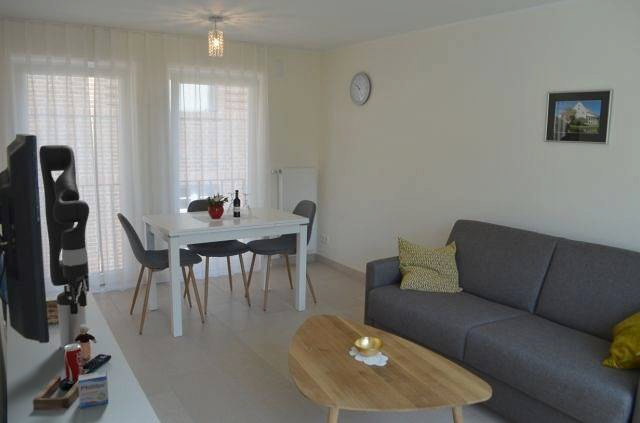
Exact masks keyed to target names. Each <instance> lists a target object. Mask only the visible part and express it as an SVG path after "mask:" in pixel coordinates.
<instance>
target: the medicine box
mask: <svg viewBox="0 0 640 423" xmlns="http://www.w3.org/2000/svg"><path fill="white" fill-rule="evenodd" d="M108 383H109V382H108V372H107V370H104V371H98V372H93V373H92V372H91V373H87V374H84V375H79V376H78V387H79V396H78V398H79V400H78V401H79V408H80V409H85V408H89V407H95V406H100V405H104V404H108V403H109V388H108V386H109V384H108Z"/></svg>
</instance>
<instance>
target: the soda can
mask: <svg viewBox="0 0 640 423" xmlns="http://www.w3.org/2000/svg"><path fill="white" fill-rule="evenodd" d="M63 359H64V369H65V371H64V372H65V380H66V379H67V380H70V381H75V380H76V381H78V376H79V375H85V374H84V362H83V360H82V349H81V347H80V344H69V345H67V346H65V349H63Z"/></svg>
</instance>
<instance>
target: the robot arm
mask: <svg viewBox="0 0 640 423" xmlns="http://www.w3.org/2000/svg"><path fill="white" fill-rule="evenodd" d="M38 152H39V153H38V155H39V164H40V172H41V178H42V183H43V193H44V207H45V208H44V210H45V221H46V222H45V223H46V229H47V237H48V238H47V239H48V247H49V248H48V250H49V252H48V253H49V278H50V281H51V283H52V285H53V286H54V287H61V286H63V289H64V290H63V291H61V292H60V293H59V294H58V295H57V296H56V304H57V315H58V316H57V317H58V327H59V340H60V347H61V349H62V350H65V346H67V345H69V344H74V341H75V339H76V337H77V336H78V335H79V334H81V333H80V330H79V327H80V325H83V324H85V325H87V316H86V315H87V314H86V307H87V305H88V301H87V295H88V292H89V291H90V277H89V276H90V275H89V260H88V250H87V246H86V229H87V225H88V224H87V223H88V219H89V216H90V207H89V205H88V203H87V202H86V201H85V200H82V199H81V200H80V192H79V189H78V188H79V187H78V185H77V173H76V172H77V170H76V160H75V153H74V151H73V148H72V146H70V145H65V144H64V145H63V144H60V145H59V144H58V145H57V144H53V145H51V144H50V145H49V144H48V145H46V144H45V145H42V146H40V147H39V151H38ZM52 172H61V174H59V175H58V177H57V178H56V180H55V179H54V176H53V174H52ZM75 223H77V224H76V225H75ZM60 256H61V258H60ZM60 259H62V260H60ZM79 343H80V341H78V342H77V344H79Z"/></svg>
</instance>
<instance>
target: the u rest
mask: <svg viewBox="0 0 640 423" xmlns="http://www.w3.org/2000/svg"><path fill="white" fill-rule="evenodd" d="M60 382H61V383H62V377H61V376H57V375H55V376H54V378H52V379H51V381H49V383H48V384H47V385H45V387H44V388H43V389H42V390H41V391H40V392H39V393H38V394H37V395H36V396H35V397H34V399H32V405H33V410H34V411H37V410H65V409H67V410H68V409H70V407H71V406H72V405H73V403H74V402H75V400H77V398H79V387H78V381H77V382H76V383H75V384H73V385H72V387H70V389H69V390H68V392H66V394H65V395H64V396H63V397H52V396H53V395H54V394H55V393H56V391H58V390H59V389H60V387H59V384H60Z"/></svg>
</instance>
